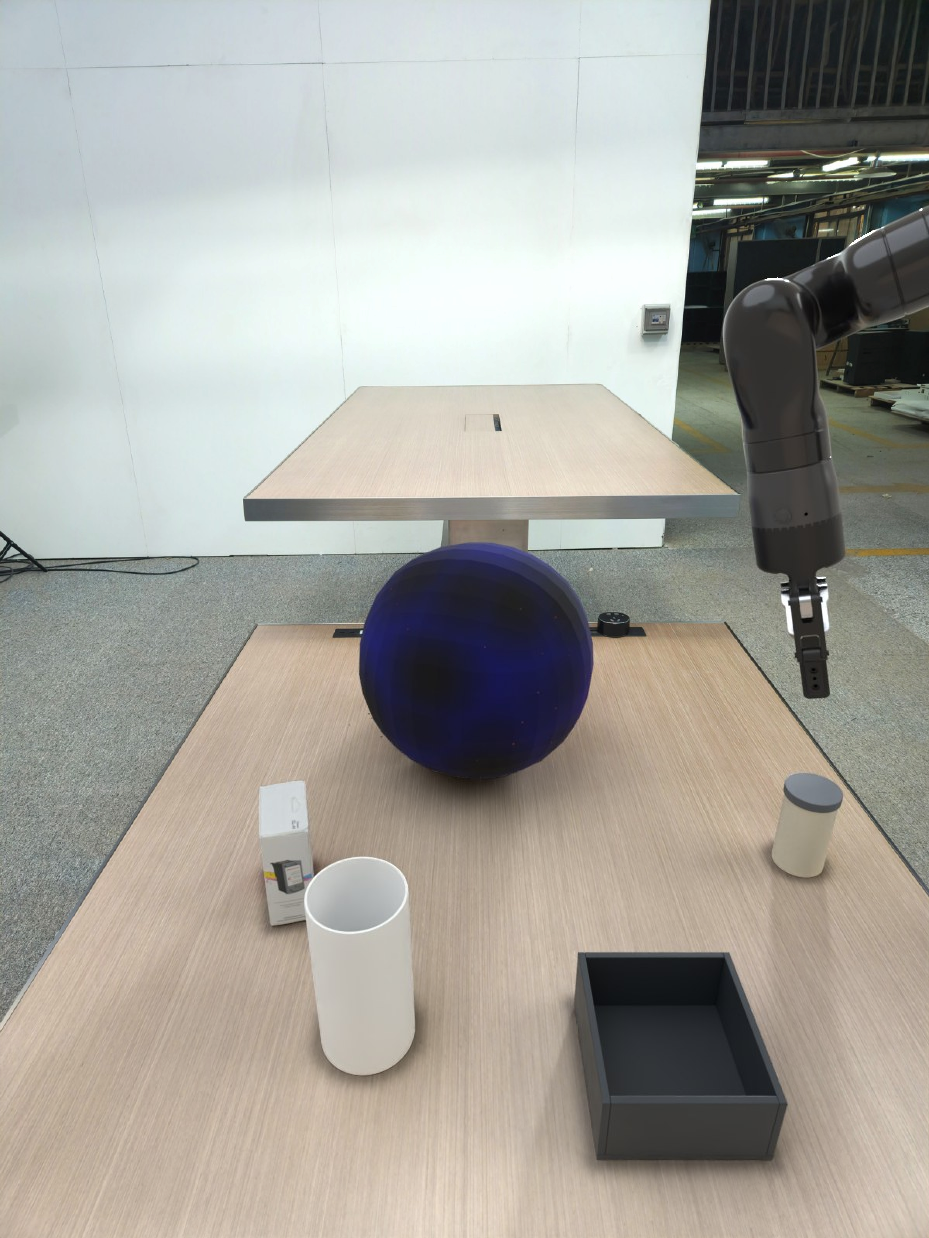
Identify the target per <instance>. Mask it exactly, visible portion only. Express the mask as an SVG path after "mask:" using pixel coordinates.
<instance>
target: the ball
mask: <svg viewBox="0 0 929 1238" xmlns="http://www.w3.org/2000/svg"><path fill="white" fill-rule="evenodd" d="M502 531H503V532H504V531H505V529H502ZM363 623H364V624H363V628H362V631H361V636H360V640H359V656H358V657H359V658H358V676H359V683H360V688H361V693H362V696H363V698H364V701H365V704H366V706H367V708H368V711H369V712H368V713H367V715H371V718H370V719H372V720H373V721H374V723H375V725H376V726H377V727H378V729H379V731H380V732H381V733H382V735H383V736H384V737H385V738H386V739H387V740H388V741H389V742H390V744H391V745H393V746H394V748H396V750H398V751H399V752H400V753H401V754H403V755H404V756H405V757H407V758H408V759H409V760H411V761H412V762H414V763H415V764H418V765H420V766H421V767H424V768H425V769H427V770H429V771H433V772H436V773H437V774H438V773H439V774H441V775H446V776H448V777H454V778H461V779H470V780H471V779H472V780H483V779H496V778H498V779H499V778H502V777H505V776H508V775H513V774H517V773H519V772H521V771H523V770H526V769H528V768H531V767H532V766H534V765H536V764H538V763H540V762H542V761H543V760H545V758H546V757H548V756H549V755H550V754H552V753H553V752H554V751H555V750H556V749H557V748H559V747H560V746H561V745H562V744H563V743H564V742H565V740H566V739H567V737H568V736H569V735H570V733H571V732H572V730H573V729H574V728H575V726H576V725H577V723H578V721H579V719H580V717H581V715H582V713H583V710H584V708H585V705H586V703H587V700H588V698H589V693H590V688H591V682H592V676H593V670H594V666H595V665H594V663H595V662H594V642H593V637H592V633H591V628H590V624H589V620H588V615H587V613H586V610H585V609H584V605H583V604H582V601H581V599H580V597H579V595H578V594H577V593H576V591H575V590H574V589H573V587H572V586H571V584H570V583H569V581H568V580H567V579H566V578H564V576H562V575H561V574H560V572H558V571H557V570H555V568H554V567H552V565H550V564H549V563H546V562H545V561H543V560H542V559H540V558H539V557H537V556H536V555H534V554H532V553H529V552H526V551H524V550H521V549H519V548H516V547H514V546H511V545H504V544H502V543H501V544H500V543H495V542H487V541H486V542H481V541H480V542H478V541H477V542H476V541H475V542H474V541H473V542H471V541H469V542H462V543H456V544H451V545H445V546H439V547H437V548H434V549H432V550H429V551H427V552H424V553H421V554H420V555H418V556H416V557H414V558H412V559H411V560H409V561H408V562H406V563H405V564H404V565H402V566H400V568H397V570H395V571H394V573H393V574H392V575H391V577H389V579H388V580H387V581H386V583H385V584H384V585H383V586H382V588H380V590H379V591H378V593H377V594H376V595H375V598H374V599H373V601H372V604H371V607H370V608H369V611H368V613H367V616H366V619H365V621H364V622H363ZM348 726H350V724H348ZM383 736H380V738H383Z"/></svg>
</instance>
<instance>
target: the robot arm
mask: <svg viewBox="0 0 929 1238" xmlns="http://www.w3.org/2000/svg"><path fill="white" fill-rule="evenodd" d="M926 308H929V204H928V205H926V206H924V207H921V208H920V209H918V210H915V211H913V212H911V213H909V214H907V215H904V216H903V217H900V218H898V219H896V220H894V221H892V222H889V223H887V224H885V225H883V226H882V227H881V228H876V229H875V230H872V231H871V232H869V233H867V234H865V235H863V236H862V237H860V238H858V239H856V240H854V242H852V243H851V244H849V245H848V246H846V248H845V249H843V250H842V251H841V252H839V253H837V254H835V255H833V256H831V257H827V258H826V259H824V260H821V261H819V262H817V263H814V264H813V265H810V266H808V267H806V268H803V269H800V270H798V271H796V272H795V273H792V274H789V275H787V276H784V277H782V278H767V279H762V280H759V281H758V280H757V281H756V282H753V283H751V284H750V285H748V286H747V287H745V288H743V289H742V290H741V291H740V292H739V293H738V294H737V295H736V296H735V297H734V299H732V302H730V305H729V306H728V308H727V310H726V313H725V316H724V319H723V325H722V338H723V339H722V341H723V342H722V344H723V350H724V351H723V352H724V357H725V362H726V367H727V372H728V375H729V380H730V383H731V387H732V390H733V394H734V399H735V402H736V404H737V409H738V412H739V416H740V421H741V422H740V423H741V437H742V446H743V447H742V448H743V453H744V460H745V468H746V469H745V470H746V475H747V476H746V477H747V479H746V480H747V481H746V482H747V483H746V484H747V485H746V486H747V487H746V488H747V489H746V490H747V492H746V493H747V495H746V496H747V504H748V505H747V506H748V512H749V519H750V526H751V534H752V541H753V542H752V543H753V549H754V556H755V562H756V566H757V568H758V570H760V571H762V572H764V573H766V574H771V575H779V574H783V575H786V576H787V577H788V580H787V581H782V582H781V581H780V598H781V606H782V608H783V610H784V611H785V616H786V617H785V618H786V625H787V633H788V636H789V638H791V639H793V640H794V646H795V647H794V649H795V652H794V659H796V662H797V663H799V671H800V672H799V673H800V680H801V688H802V695H803V697H804V698H805V699H807V700H814V699H815V700H816V699H817V700H818V699H827V698H828V697H829V696H830V695H831V689H830V682H829V673H828V672H829V671H828V666H827V665H828V664H827V661H828V660H829V656H830V650H829V649H827V641H826V636H827V635H829V634H830V632H831V629H830V628H831V627H830V626H831V625H830V619H829V612H828V605H829V603H830V594H829V588H828V583H827V578H826V576H822V577H821V576H820V577H817V573H818V572H819V570H821V569H825V568H827V569H828V568H830V567H833V566H835V565H838V564H839V563H840V562H842V561H843V560H844V559H845V557H846V542H845V535H844V525H843V515H842V506H841V498H840V487H839V481H838V477H837V473H836V469H835V465H834V461H833V452H832V443H831V434H830V427H829V426H830V423H829V417H828V412H827V409H826V408H827V407H826V404H825V401H824V399H823V397H822V395H821V393H820V386H819V384H820V383H819V374H818V373H819V371H818V361H817V351H819V350H821V349H823V348H826V347H828V346H830V345H833V344H834V343H837V342H838V341H840V340H843V339H845V338H847V337H849V336H852V335H854V334H856V333H858V332H860V331H863V330H865V329H867V328H868V329H869V328H871V327H877V326H880V325H884V324H887V323H891V322H893V321H896V320H899V319H902V318H904V317H906V316H909V315H913V314H915V313H917V312H919V311H922V310H924V309H926Z"/></svg>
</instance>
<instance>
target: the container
mask: <svg viewBox="0 0 929 1238" xmlns="http://www.w3.org/2000/svg"><path fill="white" fill-rule="evenodd" d="M782 791H783V798H782V802H781V807H780V812H779V817H778V822H777V826H776V831H775V834H774V835H775V836H774V841H773V845H772V850H771V858H772V861H773V862H774V864H775V866H777V867H778V868H779V869H780V870H782V871H784V872H785V873H787V874H789V875H792V876H794V877H799V878H804V879H805V878H814V877H817V876H819V875H820V874H821V873H822V872H823V869H824V866H825V863H826V858H827V854H828V851H829V846H830V842H831V838H832V835H833V830H834V827H835V822H836V818H837V814H838V810H839V809H840V808H841V806H842V804H843V800H844V792H843V790H842V788H841V787H840V786H839V785H838V784H837V783H836V782H834V781H833V780H832V779H829V778H828V777H826V776H823V775H821V774H817V773H812V772H806V771H805V772H803V771H802V772H801V771H800V772H795V773H792V774H789V775H788V776H787V777H786V778H785V779H784V784H783V789H782Z"/></svg>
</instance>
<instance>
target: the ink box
mask: <svg viewBox="0 0 929 1238" xmlns="http://www.w3.org/2000/svg"><path fill="white" fill-rule="evenodd" d="M258 791H259V792H258V795H259V796H258V837H259V838H258V839H259V846H260V853H261V862H262V870H263V877H264V884H265V885H264V886H265V893H266V901H267V908H268V917H269V924H270V926H281V925H285V924H290V923H297V922H302V921H306V916H305V908H304V898H305V893H306V889H307V887H308V885H309V883H310V882H311V880H312V879H313V878H314V877H315V872H314V859H313V849H312V840H311V839H312V838H311V827H310V818H309V807H308V799H307V798H308V797H307V788H306V781H305V780H303V779H302V780H301V779H300V780H292V781H286V782H281V783H271V784H265V785H260V786H259V790H258Z"/></svg>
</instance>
